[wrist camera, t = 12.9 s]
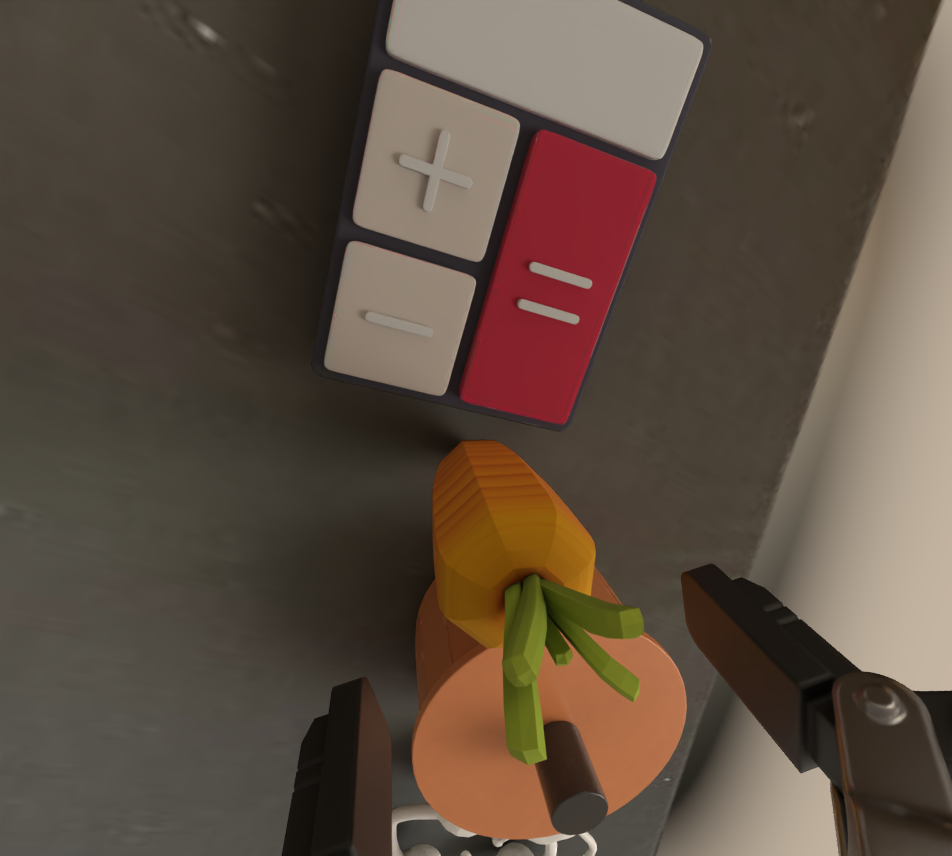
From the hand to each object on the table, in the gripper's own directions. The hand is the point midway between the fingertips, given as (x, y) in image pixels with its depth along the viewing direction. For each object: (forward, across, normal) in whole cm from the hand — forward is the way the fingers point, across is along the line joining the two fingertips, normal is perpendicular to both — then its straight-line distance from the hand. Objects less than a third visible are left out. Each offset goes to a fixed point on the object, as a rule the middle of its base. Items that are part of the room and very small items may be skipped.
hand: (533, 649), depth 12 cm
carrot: (+13, 0, 0) cm, 13 cm away
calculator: (+13, -4, -10) cm, 17 cm away
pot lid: (+6, 0, +11) cm, 12 cm away
